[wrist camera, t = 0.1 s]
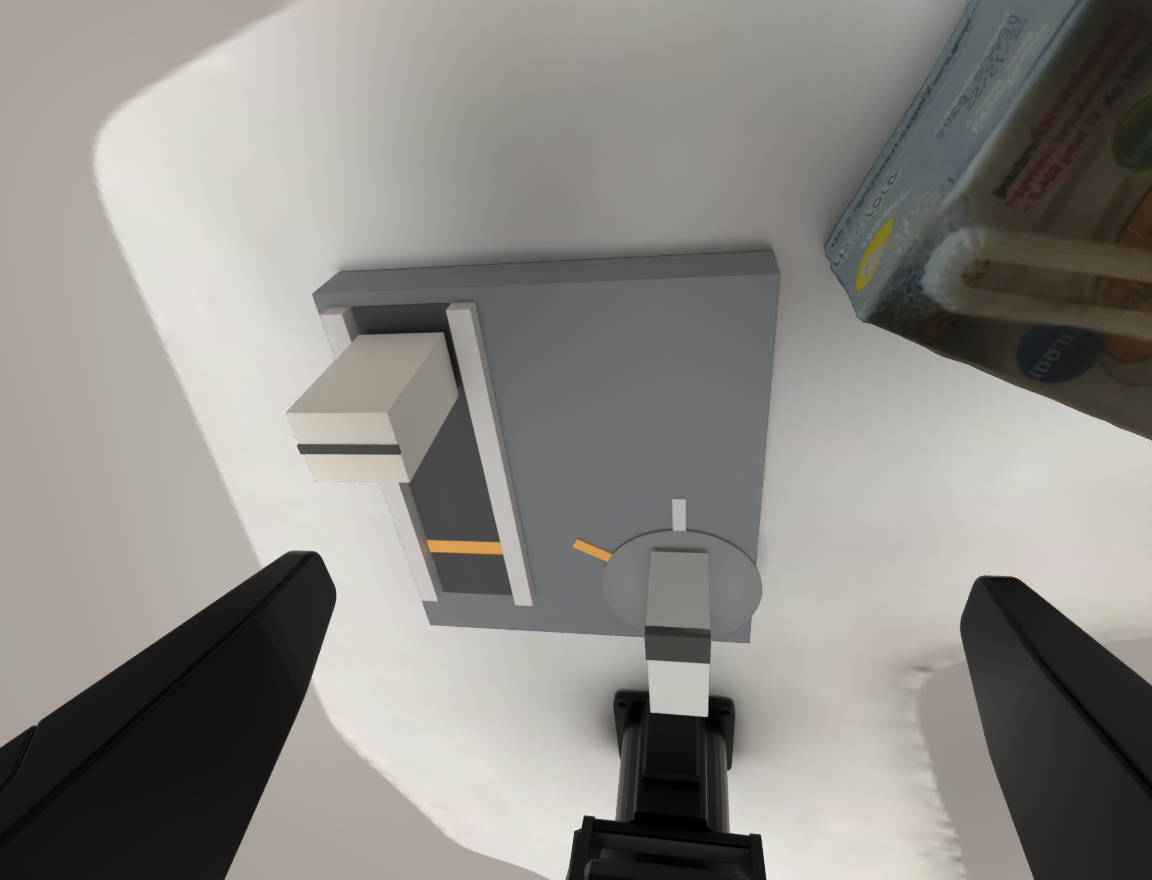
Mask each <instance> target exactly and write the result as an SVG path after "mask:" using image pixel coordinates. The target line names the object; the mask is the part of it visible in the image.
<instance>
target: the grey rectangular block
mask: <svg viewBox="0 0 1152 880" xmlns="http://www.w3.org/2000/svg"><path fill="white" fill-rule="evenodd" d="M645 651H646V660H647V663H648V679H649V695H650V711H651V713H664V714H677V715H690V716H703V717H708V694H709V664H710V651H711V629H710V610H709V571H708V553H683V552H652V551H651V561H650V574H649V588H648V602H647V615H646V625H645Z"/></svg>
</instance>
